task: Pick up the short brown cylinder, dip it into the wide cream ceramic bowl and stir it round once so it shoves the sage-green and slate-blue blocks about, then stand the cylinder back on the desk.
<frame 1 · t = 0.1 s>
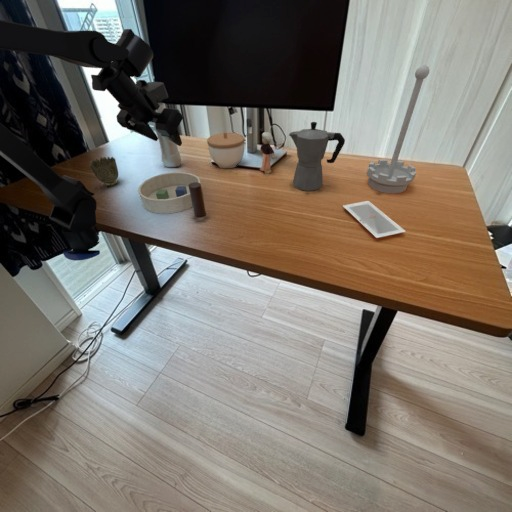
hand: (168, 142, 74), 14 cm above the table, tool tilted 30°, fingers open, 9 cm apart
bowl: (173, 199, 79), on the table
plastic bottle: (173, 166, 98), on the table
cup: (112, 185, 87), on the table
coffeepot: (310, 185, 83), on the table
blue block: (182, 195, 79), resting on bowl
lidded bowl: (228, 165, 97), on the table
brown cylinder: (200, 216, 72), on the table
green block: (163, 199, 78), resting on bowl
touchpad: (370, 221, 68), on the table
grandmother figurine: (266, 172, 92), on the table
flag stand: (386, 185, 82), on the table
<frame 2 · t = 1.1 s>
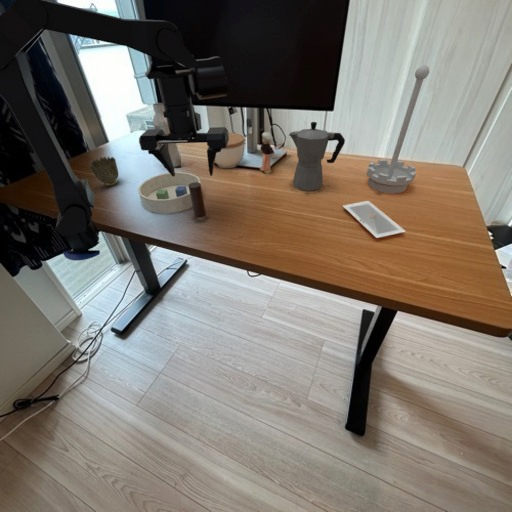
hand: (192, 175, 65), 11 cm above the table, tool pointing down, fingers open, 9 cm apart
nothing on the table moved.
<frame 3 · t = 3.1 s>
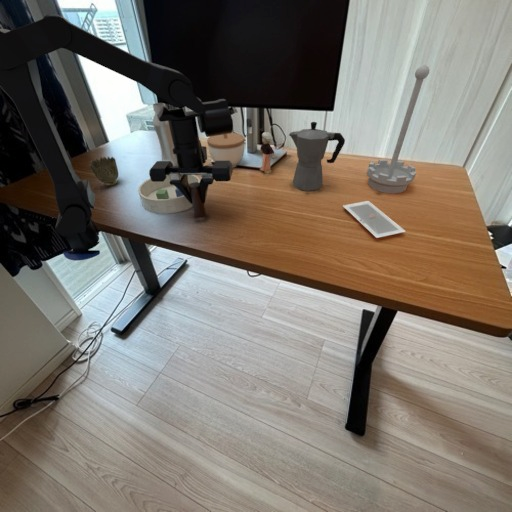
hand: (198, 202, 69), 4 cm above the table, tool pointing down, fingers closed on brown cylinder, 3 cm apart
brown cylinder: (200, 216, 72), on the table, touching gripper
everything else where it was.
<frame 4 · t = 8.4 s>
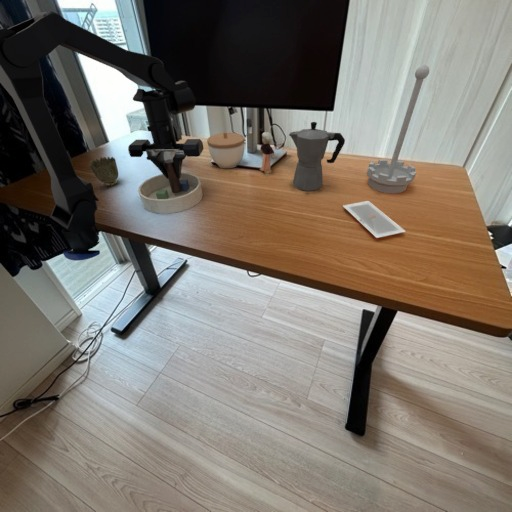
hand: (173, 178, 77), 5 cm above the table, tool pointing down, fingers closed on brown cylinder, 3 cm apart
blue block: (184, 189, 82), point 1 cm above the table, touching bowl
brown cylinder: (176, 190, 80), point 1 cm above the table, touching gripper
everything else where it was.
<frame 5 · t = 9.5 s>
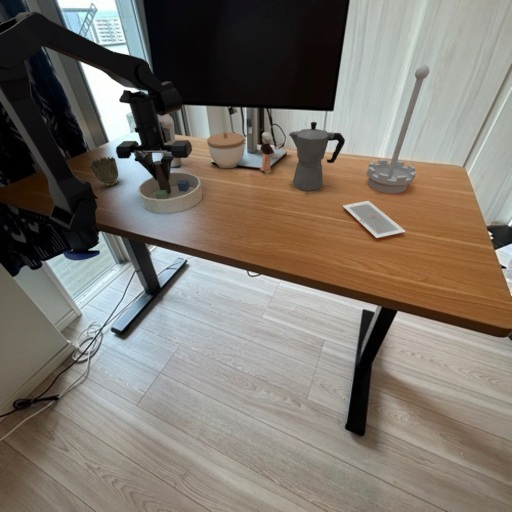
hand: (162, 179, 77), 5 cm above the table, tool pointing down, fingers closed on brown cylinder, 3 cm apart
brown cylinder: (166, 192, 79), point 1 cm above the table, touching green block, gripper
green block: (162, 199, 78), point 1 cm above the table, touching bowl, brown cylinder
everything else where it was.
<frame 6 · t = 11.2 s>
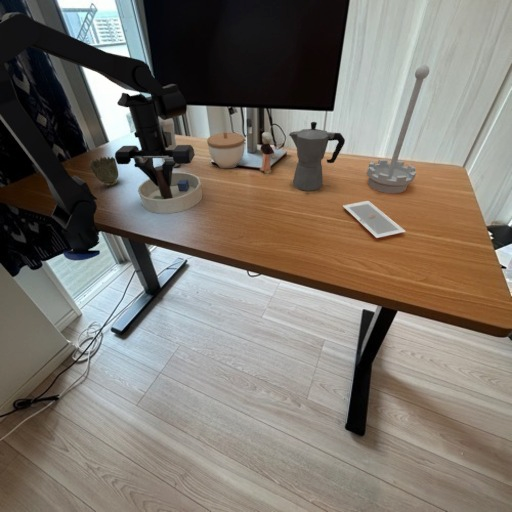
hand: (164, 185, 74), 6 cm above the table, tool pointing down, fingers closed on brown cylinder, 3 cm apart
brown cylinder: (167, 198, 76), point 1 cm above the table, touching gripper
green block: (159, 206, 75), point 1 cm above the table, touching bowl
everything else where it was.
when the fingers open (4 cm above the table, at t = 16.4 s): brown cylinder stays where it is, on the table.
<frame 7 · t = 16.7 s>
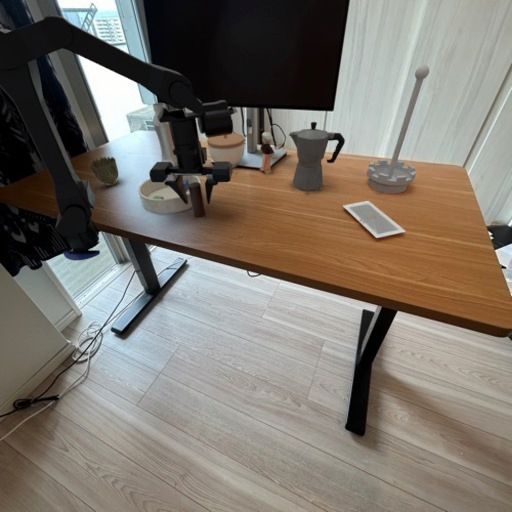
hand: (198, 203, 69), 4 cm above the table, tool pointing down, fingers open, 5 cm apart
brown cylinder: (200, 216, 72), on the table
everything else where it was.
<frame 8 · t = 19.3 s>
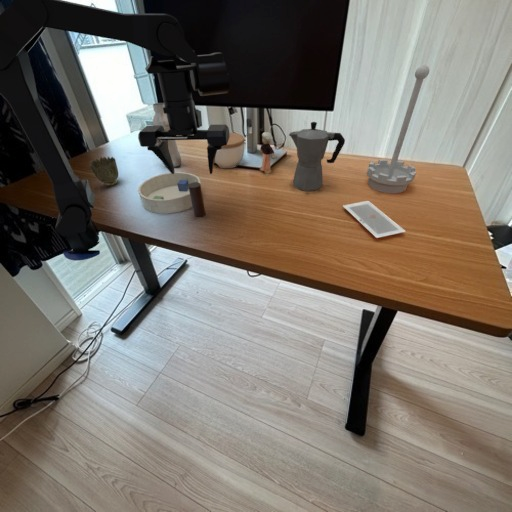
hand: (192, 173, 64), 12 cm above the table, tool pointing down, fingers open, 9 cm apart
nothing on the table moved.
at the end: green block moved 3.9 cm from its start; blue block moved 4.1 cm from its start; blue block inside the target area in the bowl (5.4 cm from its centre), point 0.5 cm above the bowl's base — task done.
